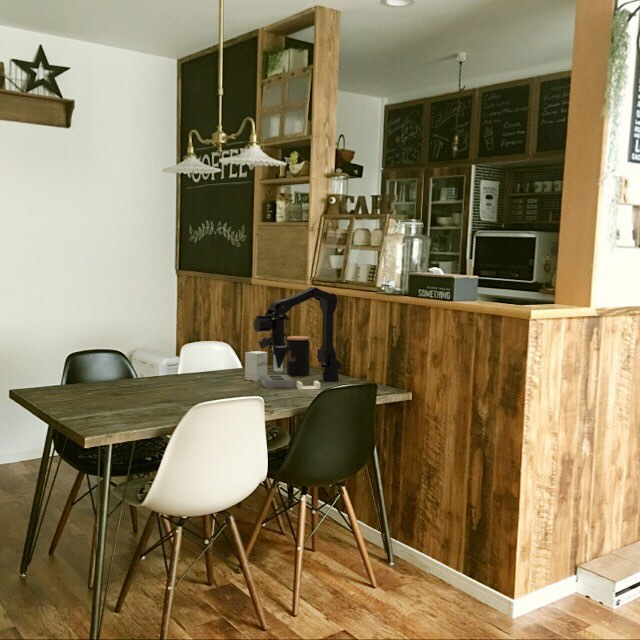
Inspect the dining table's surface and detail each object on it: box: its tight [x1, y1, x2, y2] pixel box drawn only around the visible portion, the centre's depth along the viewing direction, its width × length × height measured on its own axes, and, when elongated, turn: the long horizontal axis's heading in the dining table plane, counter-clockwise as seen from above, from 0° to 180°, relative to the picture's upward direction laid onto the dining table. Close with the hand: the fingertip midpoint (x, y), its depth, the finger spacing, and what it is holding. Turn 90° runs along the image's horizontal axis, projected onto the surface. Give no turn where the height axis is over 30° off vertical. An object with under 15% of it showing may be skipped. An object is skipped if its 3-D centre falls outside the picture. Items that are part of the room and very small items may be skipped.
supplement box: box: [244, 350, 268, 382], centre depth 331 cm, size 7×7×13 cm
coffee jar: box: [286, 335, 311, 377], centre depth 345 cm, size 11×11×18 cm
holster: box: [295, 380, 321, 390], centre depth 307 cm, size 9×7×3 cm
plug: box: [273, 354, 284, 372], centre depth 311 cm, size 4×4×8 cm
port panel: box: [260, 374, 294, 389], centre depth 315 cm, size 12×16×4 cm
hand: (278, 367), depth 311 cm, fingers closed on plug, 3 cm apart
